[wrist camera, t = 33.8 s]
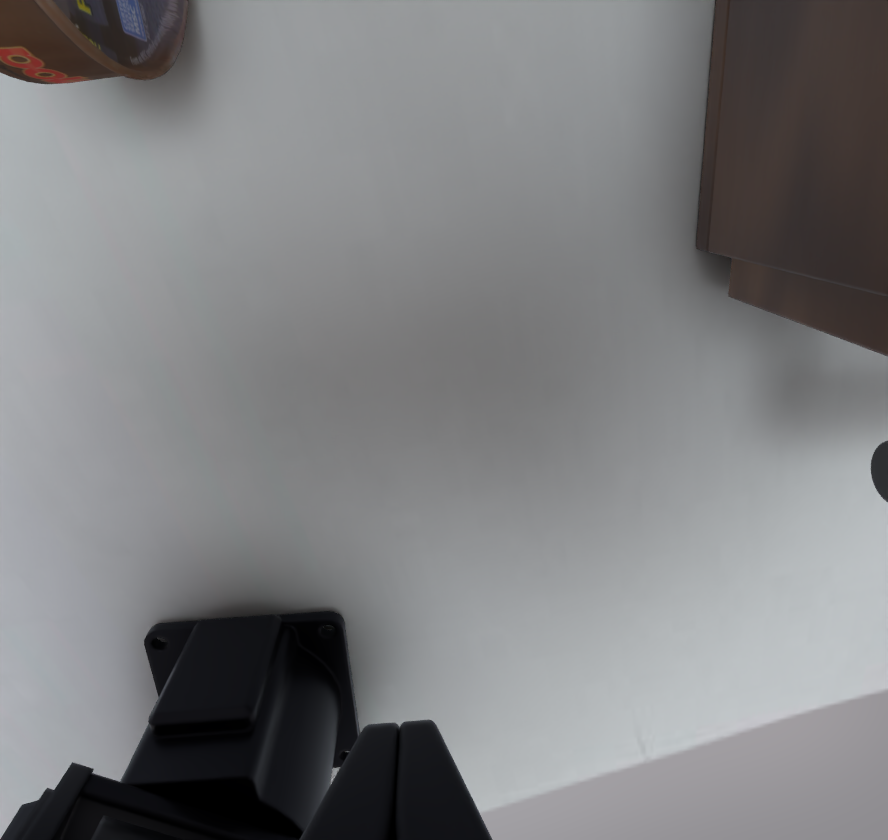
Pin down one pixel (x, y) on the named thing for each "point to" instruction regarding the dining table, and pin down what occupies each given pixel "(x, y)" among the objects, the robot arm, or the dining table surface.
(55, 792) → the robot arm
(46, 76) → the tin
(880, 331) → the drawer
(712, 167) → the cabinet
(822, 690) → the dining table surface
